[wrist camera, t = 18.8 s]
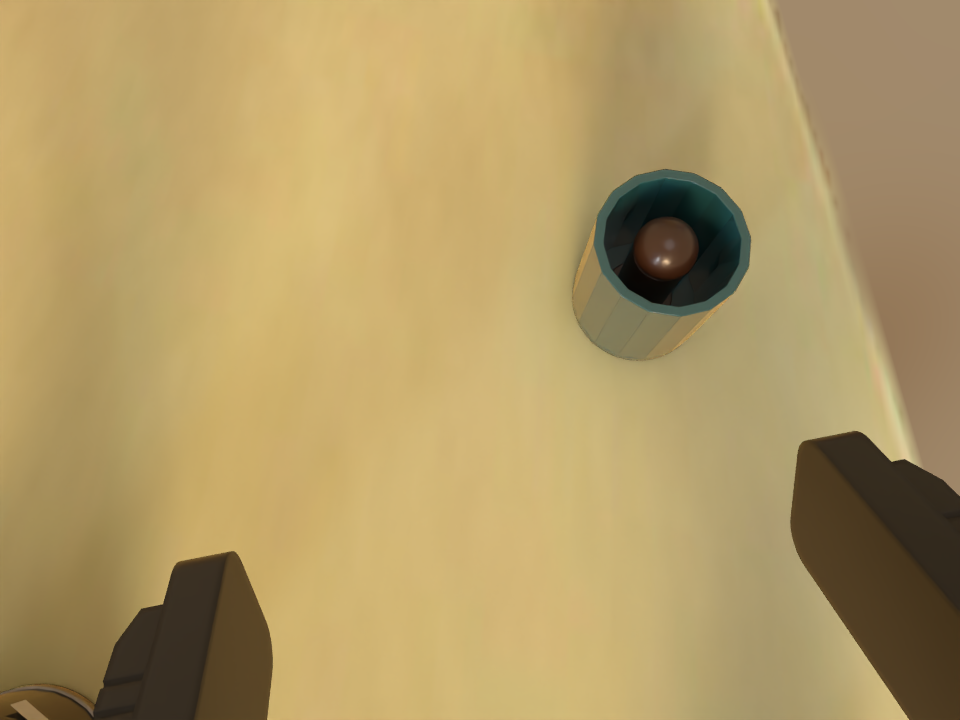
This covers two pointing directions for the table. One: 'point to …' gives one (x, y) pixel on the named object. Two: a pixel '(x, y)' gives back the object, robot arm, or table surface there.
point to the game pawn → (659, 259)
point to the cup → (698, 295)
